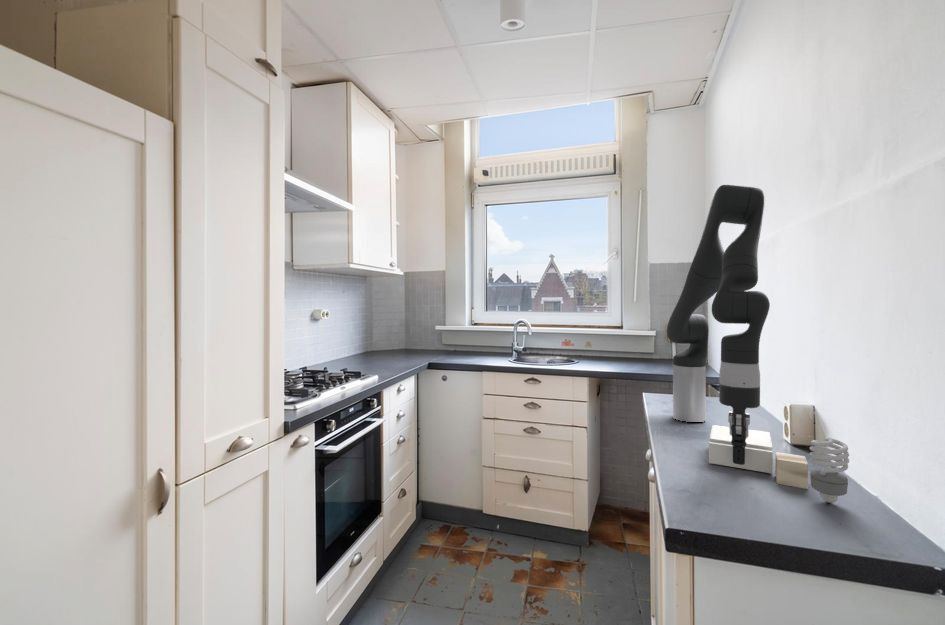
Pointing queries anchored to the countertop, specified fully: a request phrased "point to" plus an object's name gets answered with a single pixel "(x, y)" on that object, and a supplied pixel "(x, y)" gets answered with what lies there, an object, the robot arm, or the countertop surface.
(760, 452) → the tray
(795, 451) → the countertop surface
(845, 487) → the light bulb
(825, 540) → the countertop surface
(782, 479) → the beige cube block
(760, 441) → the box
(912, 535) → the countertop surface
